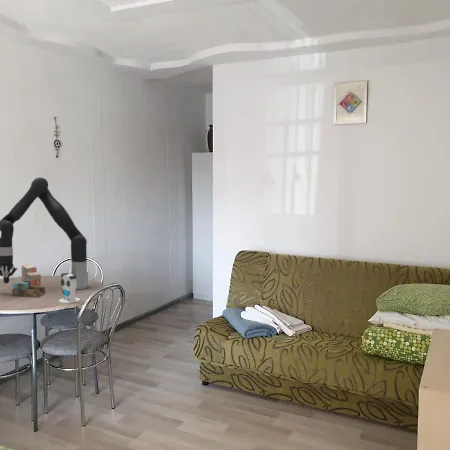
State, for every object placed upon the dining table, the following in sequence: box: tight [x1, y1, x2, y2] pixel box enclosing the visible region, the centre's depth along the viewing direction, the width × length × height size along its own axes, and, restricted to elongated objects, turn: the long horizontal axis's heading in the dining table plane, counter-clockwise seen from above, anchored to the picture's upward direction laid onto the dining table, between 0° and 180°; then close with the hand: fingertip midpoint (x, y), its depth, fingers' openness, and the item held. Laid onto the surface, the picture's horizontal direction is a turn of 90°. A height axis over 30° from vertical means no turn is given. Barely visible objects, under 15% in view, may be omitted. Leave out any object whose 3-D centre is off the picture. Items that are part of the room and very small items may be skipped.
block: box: [12, 281, 29, 290], centre depth 283 cm, size 7×5×6 cm
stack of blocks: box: [21, 264, 42, 287], centre depth 304 cm, size 21×6×12 cm, turn 36°
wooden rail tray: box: [11, 281, 46, 298], centre depth 282 cm, size 16×8×8 cm, turn 85°
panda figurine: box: [58, 272, 81, 304], centre depth 272 cm, size 12×11×15 cm
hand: (6, 283), depth 283 cm, fingers closed
